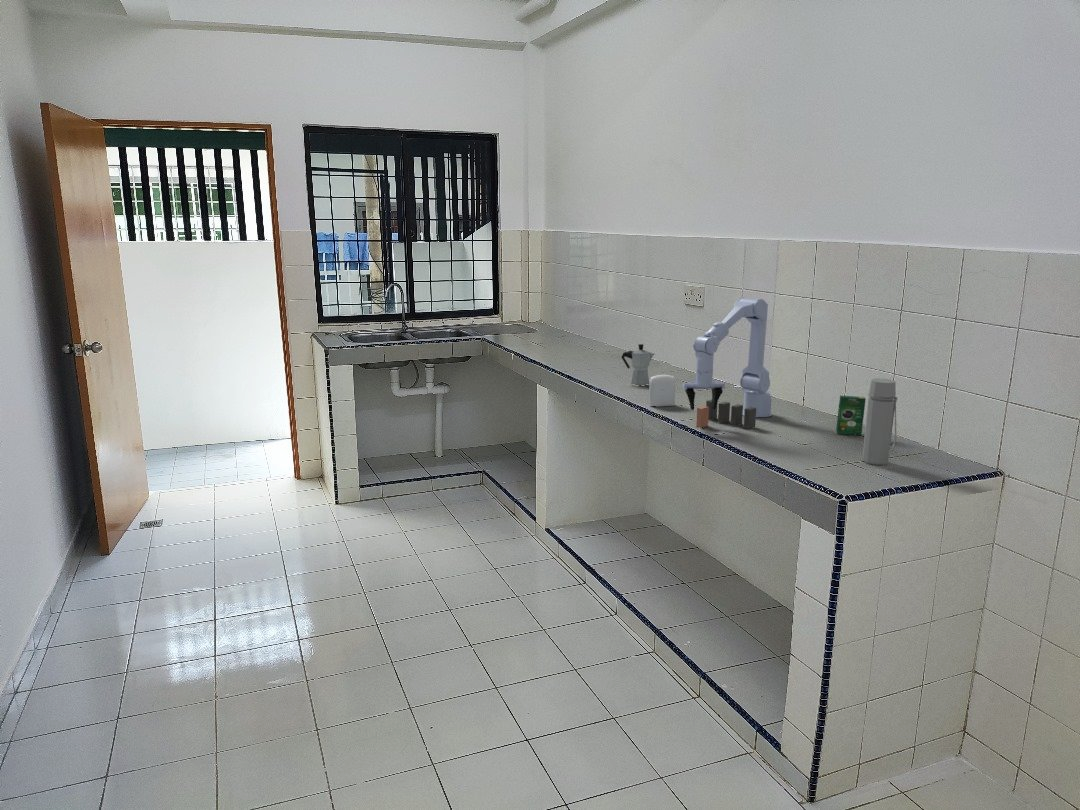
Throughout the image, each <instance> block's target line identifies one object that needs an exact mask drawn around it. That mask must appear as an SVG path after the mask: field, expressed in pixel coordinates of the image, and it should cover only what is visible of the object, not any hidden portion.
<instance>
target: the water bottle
mask: <svg viewBox="0 0 1080 810" xmlns="http://www.w3.org/2000/svg"><path fill="white" fill-rule="evenodd" d="M896 383H897V382H896V381H895V380H894V379H890V378H889V379H888V378H872V379H871V380H870V385H869V389H868V393H867V396H868V397H867V406H866V414H865V415H866V417H865V428H864V437H863V450H862V460H863V462H864V463H866V464H868V465H872V466H885V465H886V464H888V462H889V458H890V457H889V456H890V447H891V448H892V447H893V448H894V447H895V446H896V443H897V402H898V397H897V396H896V392H897V391H896ZM893 425H894V441H893V444H892V442H891V441H892V433H893Z"/></svg>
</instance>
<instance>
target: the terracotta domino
mask: <svg viewBox="0 0 1080 810" xmlns="http://www.w3.org/2000/svg"><path fill="white" fill-rule="evenodd" d="M708 416H709V407H706V405H702V406H699V407H697V408H696V425H695V428H698V427H703V428H706V427H705V426H707V427H709V420H708Z"/></svg>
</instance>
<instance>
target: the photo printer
mask: <svg viewBox="0 0 1080 810" xmlns="http://www.w3.org/2000/svg"><path fill="white" fill-rule="evenodd" d="M648 386H649V387H648V388H649V389H648V390H649V391H648V392H649V393H648V394H649V395H648V401H649V402H648V403H649V404H648V406H649V405H650V406H649V407H651V406H656V407H672V406H675V405H676V378H675V376H673V375H669V374H658V375H653V376H651V377H650V378H649V385H648Z"/></svg>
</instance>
